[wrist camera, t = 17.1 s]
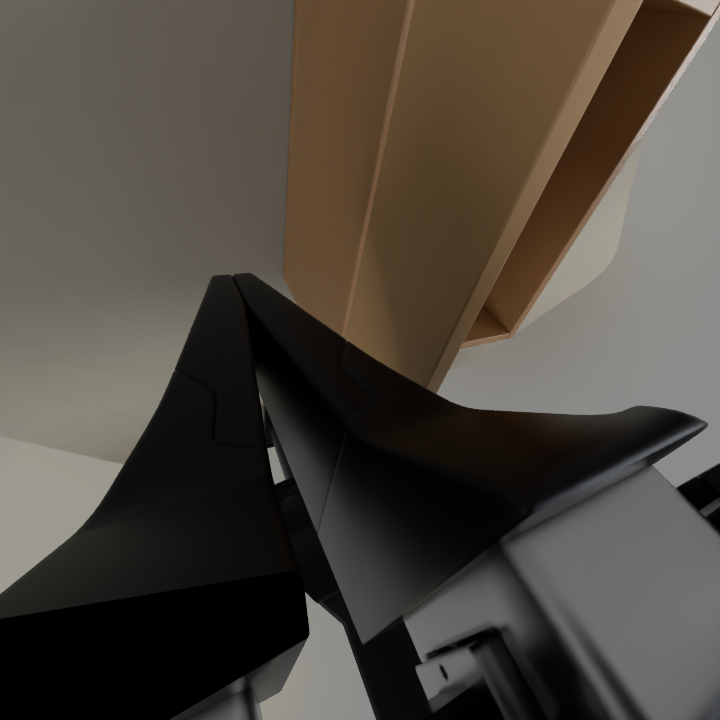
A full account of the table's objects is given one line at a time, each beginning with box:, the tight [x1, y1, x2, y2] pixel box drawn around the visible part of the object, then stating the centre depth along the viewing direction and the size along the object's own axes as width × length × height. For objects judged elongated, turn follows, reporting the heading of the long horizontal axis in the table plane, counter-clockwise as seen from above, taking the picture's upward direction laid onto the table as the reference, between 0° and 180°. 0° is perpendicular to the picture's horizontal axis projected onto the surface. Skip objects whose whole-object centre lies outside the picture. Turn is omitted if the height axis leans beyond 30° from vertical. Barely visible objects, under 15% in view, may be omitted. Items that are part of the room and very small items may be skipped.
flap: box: [345, 0, 643, 394], centre depth 10 cm, size 15×6×1 cm
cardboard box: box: [283, 0, 720, 349], centre depth 17 cm, size 15×12×8 cm
